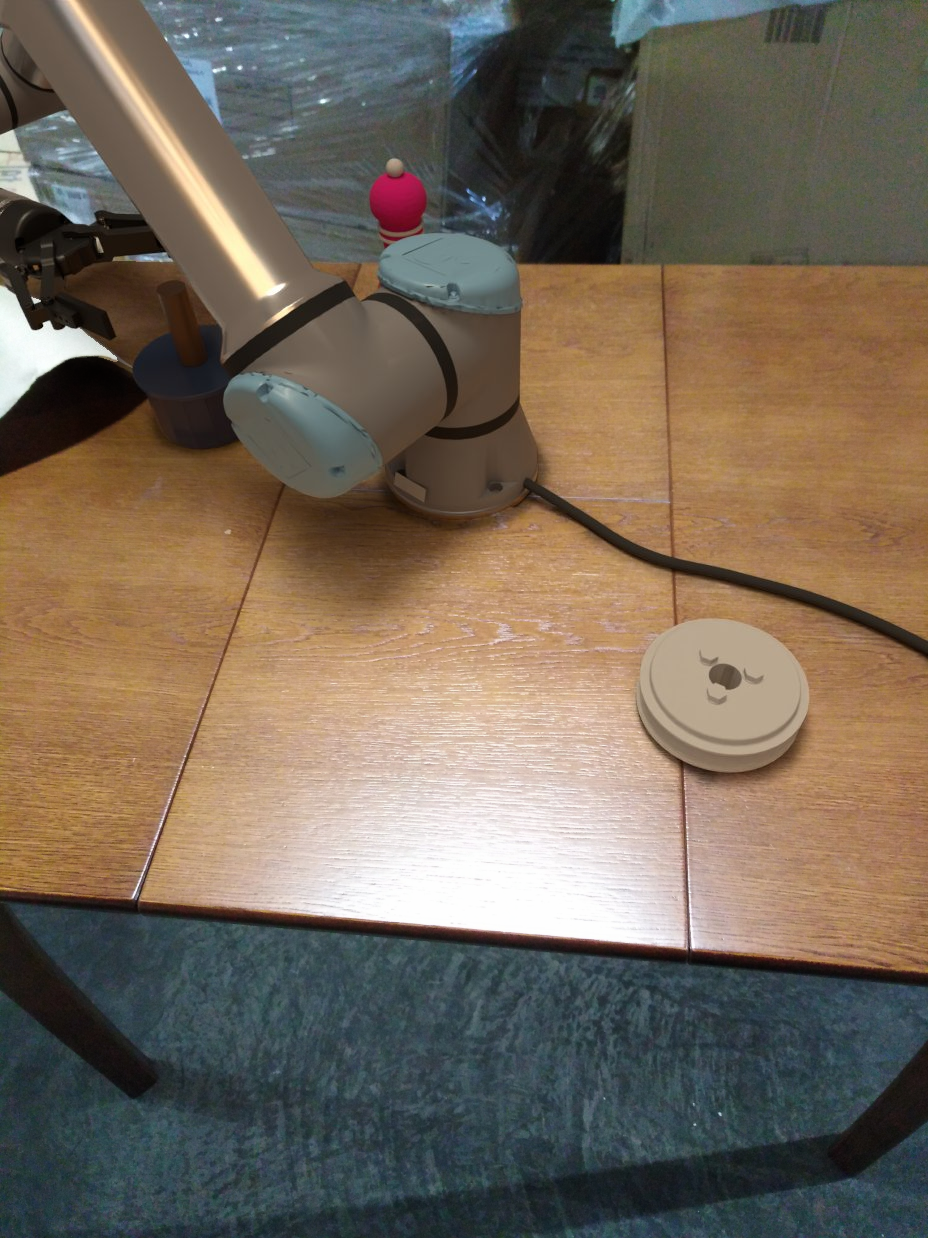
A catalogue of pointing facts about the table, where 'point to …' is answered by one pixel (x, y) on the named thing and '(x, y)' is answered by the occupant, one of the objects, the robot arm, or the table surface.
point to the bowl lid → (181, 353)
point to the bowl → (194, 422)
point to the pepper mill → (397, 204)
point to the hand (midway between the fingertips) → (162, 291)
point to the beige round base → (721, 695)
